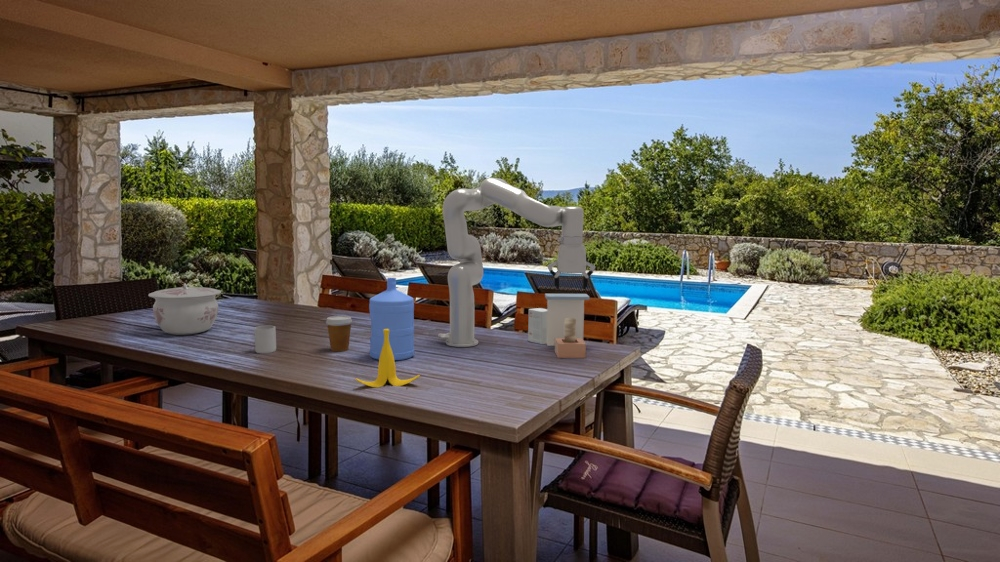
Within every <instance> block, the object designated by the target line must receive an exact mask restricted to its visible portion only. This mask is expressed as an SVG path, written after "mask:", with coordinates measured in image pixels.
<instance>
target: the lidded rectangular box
mask: <svg viewBox="0 0 1000 562" xmlns="http://www.w3.org/2000/svg"><path fill="white" fill-rule="evenodd" d="M544 298H545V299H546V300H547V301H546V303H547V304H546V305H547V306H546V307H547V308H546V309H547V343H546V346H548V347H555V338H565V319H567V318H572V319H576V338H582V339H583V340H584V328H585V327H584V323H585V320H584V319H585V301H590V299H591V297H590V295H588V294H587V293H544Z"/></svg>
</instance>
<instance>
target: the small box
mask: <svg viewBox="0 0 1000 562" xmlns="http://www.w3.org/2000/svg"><path fill="white" fill-rule="evenodd" d="M527 321H528V326H527V327H528V330H527V333H528V335H527V341H528V342H531V343H535V344H540V345H544V344H545V345H547V308H543V307H538V308H537V307H536V308H535V307H534V308H528V320H527Z"/></svg>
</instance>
